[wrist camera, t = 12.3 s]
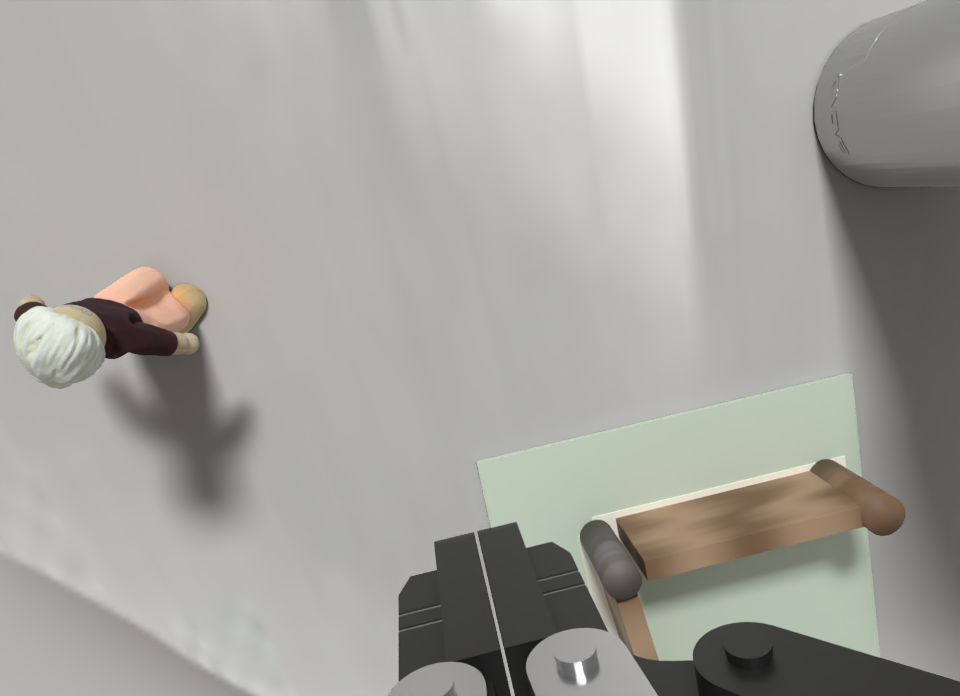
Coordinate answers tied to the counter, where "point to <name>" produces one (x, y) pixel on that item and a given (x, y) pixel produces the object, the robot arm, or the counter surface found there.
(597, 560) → the hinged fence panel
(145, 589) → the counter surface
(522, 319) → the counter surface
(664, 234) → the counter surface
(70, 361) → the grandmother figurine
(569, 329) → the counter surface
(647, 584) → the card
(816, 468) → the fixed fence section
